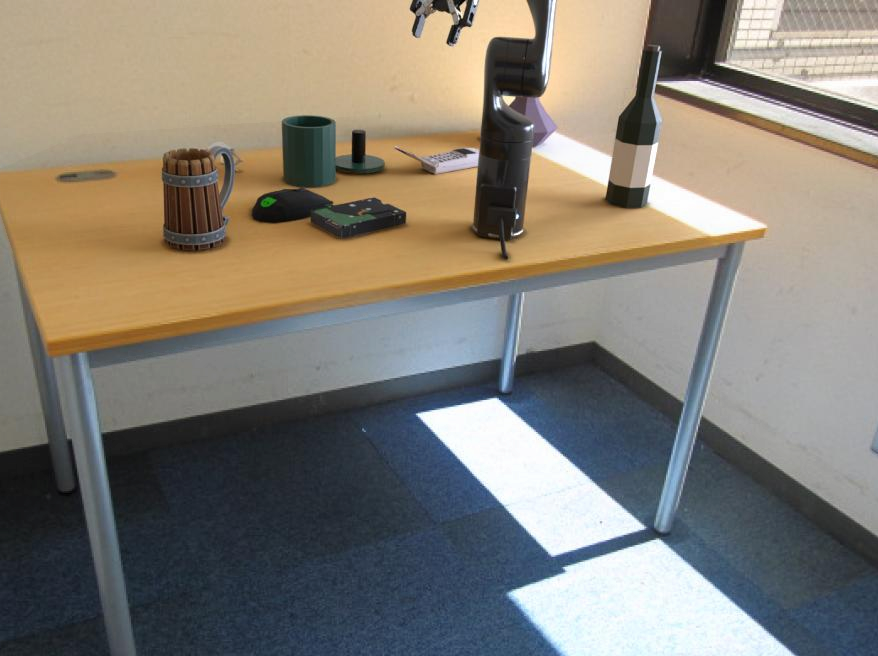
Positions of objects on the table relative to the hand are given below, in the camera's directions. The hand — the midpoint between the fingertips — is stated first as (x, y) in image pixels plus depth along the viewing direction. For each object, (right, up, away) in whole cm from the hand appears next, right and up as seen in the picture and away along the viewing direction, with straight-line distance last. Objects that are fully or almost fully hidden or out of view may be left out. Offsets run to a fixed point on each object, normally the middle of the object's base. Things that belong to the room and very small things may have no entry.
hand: (432, 41), depth 182 cm
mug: (-41, -46, -27) cm, 67 cm away
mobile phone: (+3, -23, +15) cm, 27 cm away
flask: (+24, -10, +37) cm, 45 cm away
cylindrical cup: (-26, -28, +4) cm, 38 cm away
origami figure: (-45, -24, +8) cm, 52 cm away
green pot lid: (-16, -22, +12) cm, 30 cm away
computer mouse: (-28, -38, -13) cm, 49 cm away
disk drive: (-14, -42, -19) cm, 48 cm away
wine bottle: (+40, -34, -1) cm, 52 cm away
